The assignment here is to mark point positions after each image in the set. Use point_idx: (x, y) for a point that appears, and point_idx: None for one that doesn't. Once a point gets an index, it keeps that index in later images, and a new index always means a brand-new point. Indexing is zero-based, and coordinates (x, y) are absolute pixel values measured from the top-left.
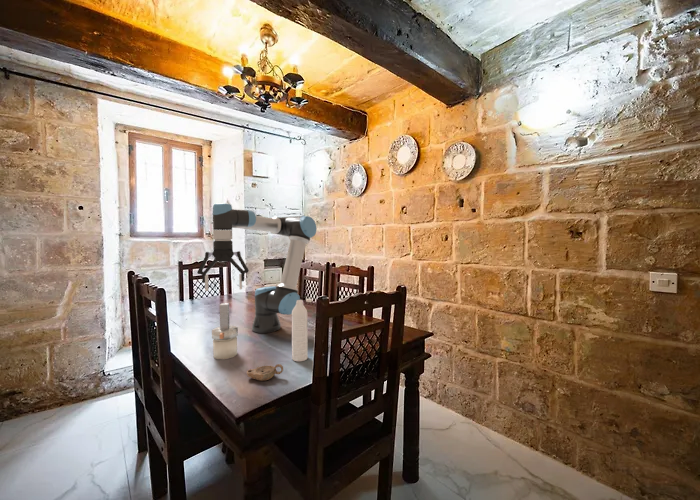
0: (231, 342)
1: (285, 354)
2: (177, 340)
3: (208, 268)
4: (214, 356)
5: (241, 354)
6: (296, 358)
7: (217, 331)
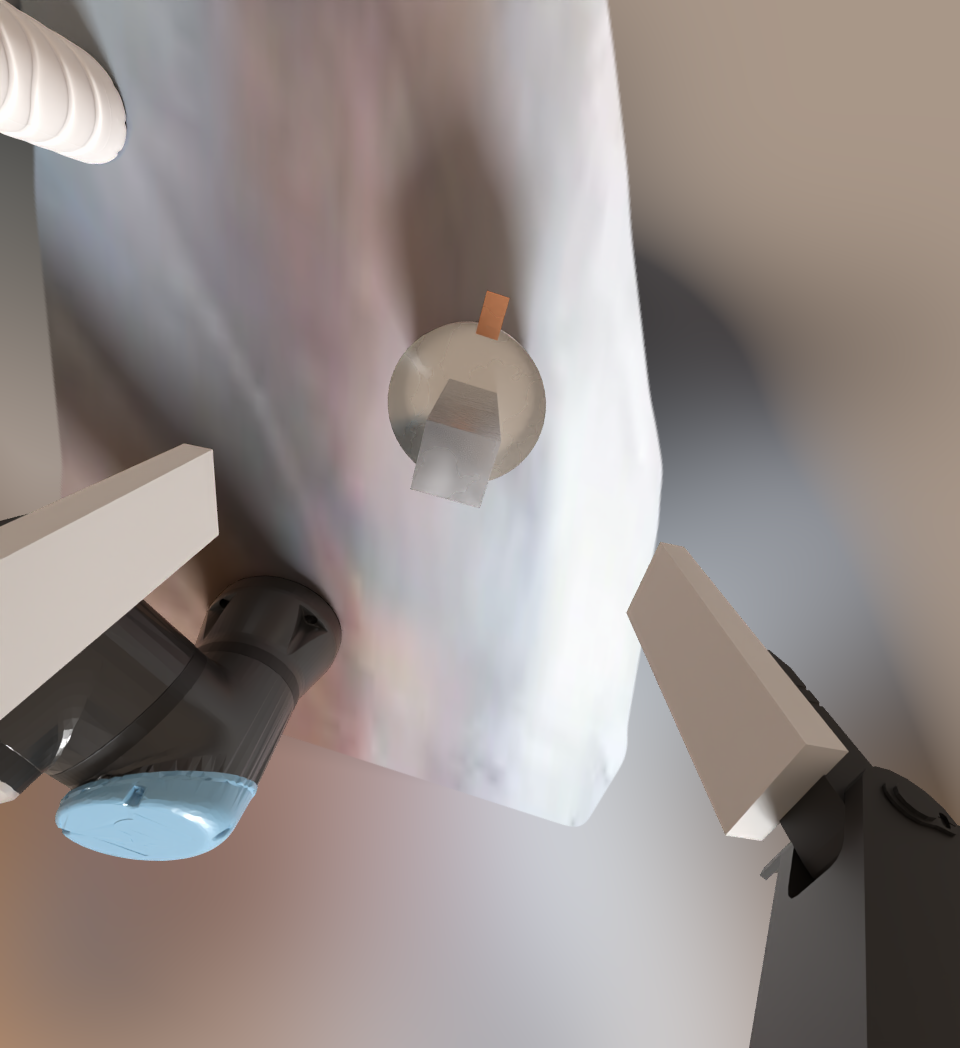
0: None
1: (173, 230)
2: (634, 639)
3: (934, 1016)
4: None
5: (400, 350)
6: (81, 51)
7: (514, 383)
